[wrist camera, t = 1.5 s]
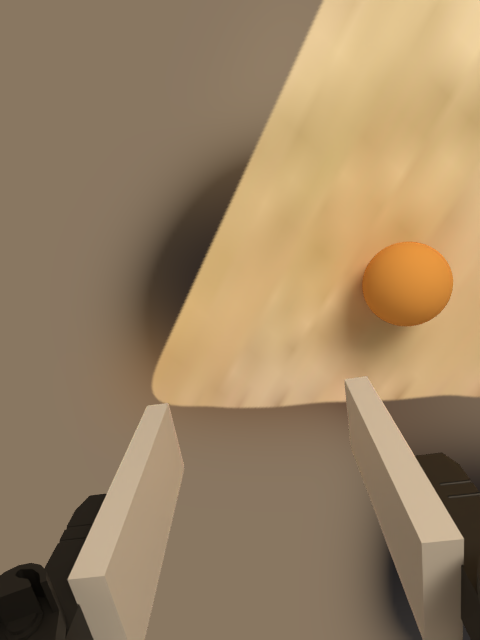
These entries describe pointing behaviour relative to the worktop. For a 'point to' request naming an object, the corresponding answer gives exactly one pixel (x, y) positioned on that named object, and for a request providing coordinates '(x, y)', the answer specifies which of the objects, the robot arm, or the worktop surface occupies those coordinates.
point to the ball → (407, 284)
